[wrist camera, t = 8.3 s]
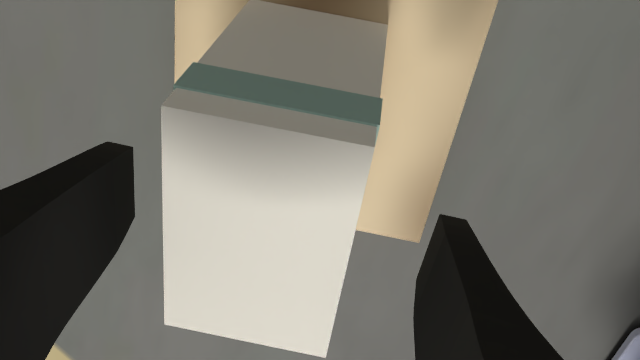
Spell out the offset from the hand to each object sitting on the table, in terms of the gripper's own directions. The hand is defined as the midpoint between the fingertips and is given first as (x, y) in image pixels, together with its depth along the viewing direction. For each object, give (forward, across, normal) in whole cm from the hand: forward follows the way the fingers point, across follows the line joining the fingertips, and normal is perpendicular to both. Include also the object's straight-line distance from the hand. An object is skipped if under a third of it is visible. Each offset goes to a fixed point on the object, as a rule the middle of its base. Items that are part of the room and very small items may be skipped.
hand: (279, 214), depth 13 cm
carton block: (+6, 0, 0) cm, 6 cm away
